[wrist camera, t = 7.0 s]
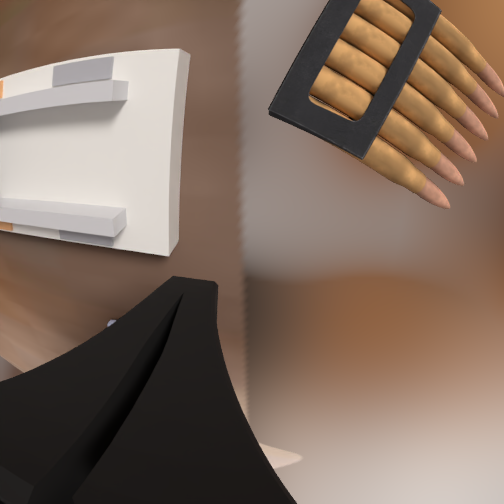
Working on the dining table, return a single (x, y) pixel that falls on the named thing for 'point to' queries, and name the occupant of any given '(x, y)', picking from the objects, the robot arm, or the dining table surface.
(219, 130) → the dining table surface
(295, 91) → the ammunition clip
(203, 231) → the dining table surface
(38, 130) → the switch board
